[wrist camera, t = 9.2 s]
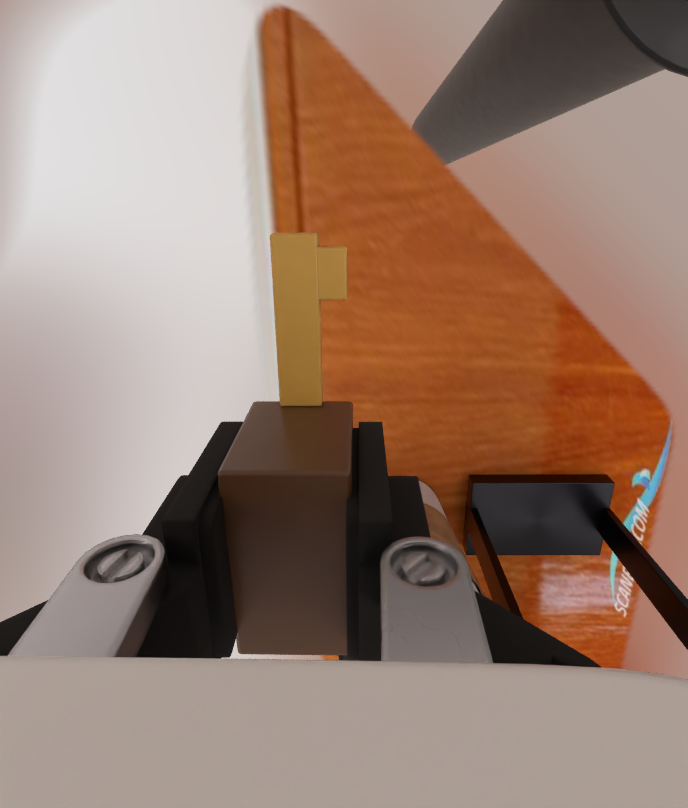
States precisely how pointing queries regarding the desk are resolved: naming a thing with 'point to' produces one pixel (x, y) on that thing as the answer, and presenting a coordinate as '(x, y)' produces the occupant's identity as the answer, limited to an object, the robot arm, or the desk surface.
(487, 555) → the stand
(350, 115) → the desk surface
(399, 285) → the desk surface
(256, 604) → the key
